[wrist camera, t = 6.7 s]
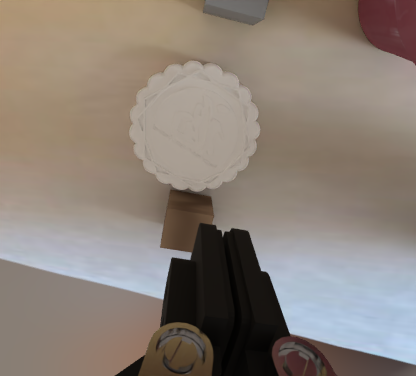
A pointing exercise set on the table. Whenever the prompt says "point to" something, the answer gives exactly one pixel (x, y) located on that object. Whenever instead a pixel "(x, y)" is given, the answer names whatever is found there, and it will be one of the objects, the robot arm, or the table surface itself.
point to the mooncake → (194, 126)
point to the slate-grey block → (237, 10)
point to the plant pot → (390, 25)
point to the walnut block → (185, 219)
